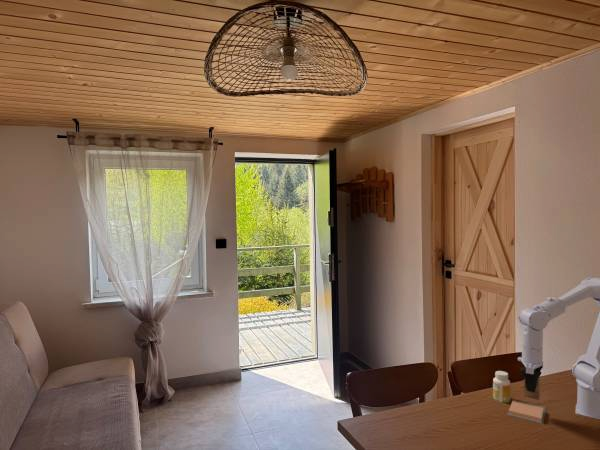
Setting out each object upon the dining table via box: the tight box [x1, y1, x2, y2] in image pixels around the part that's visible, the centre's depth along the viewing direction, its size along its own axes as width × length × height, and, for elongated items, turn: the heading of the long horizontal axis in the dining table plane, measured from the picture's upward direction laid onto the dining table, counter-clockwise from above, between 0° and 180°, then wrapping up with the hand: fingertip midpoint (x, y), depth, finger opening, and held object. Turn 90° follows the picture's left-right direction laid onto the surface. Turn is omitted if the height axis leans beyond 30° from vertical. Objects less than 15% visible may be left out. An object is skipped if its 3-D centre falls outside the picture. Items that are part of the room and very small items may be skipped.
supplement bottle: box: [492, 370, 511, 403], centre depth 141 cm, size 5×5×10 cm
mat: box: [506, 399, 547, 425], centre depth 133 cm, size 10×13×1 cm
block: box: [523, 376, 541, 401], centre depth 130 cm, size 4×4×6 cm
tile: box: [508, 400, 544, 424], centre depth 131 cm, size 9×1×8 cm
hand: (531, 388), depth 130 cm, fingers closed on block, 4 cm apart
